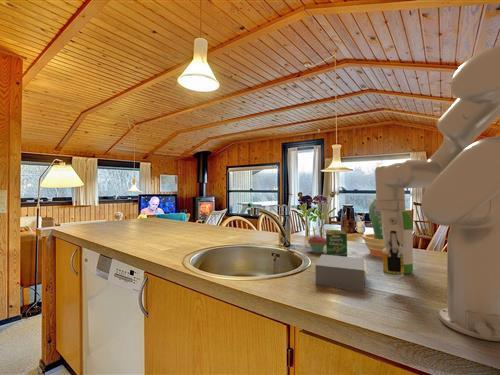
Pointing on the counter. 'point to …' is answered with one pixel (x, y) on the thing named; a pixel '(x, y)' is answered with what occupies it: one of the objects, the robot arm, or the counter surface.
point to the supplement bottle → (385, 263)
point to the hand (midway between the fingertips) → (393, 267)
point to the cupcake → (317, 243)
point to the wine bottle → (407, 243)
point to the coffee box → (336, 242)
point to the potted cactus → (375, 232)
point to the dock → (341, 272)
